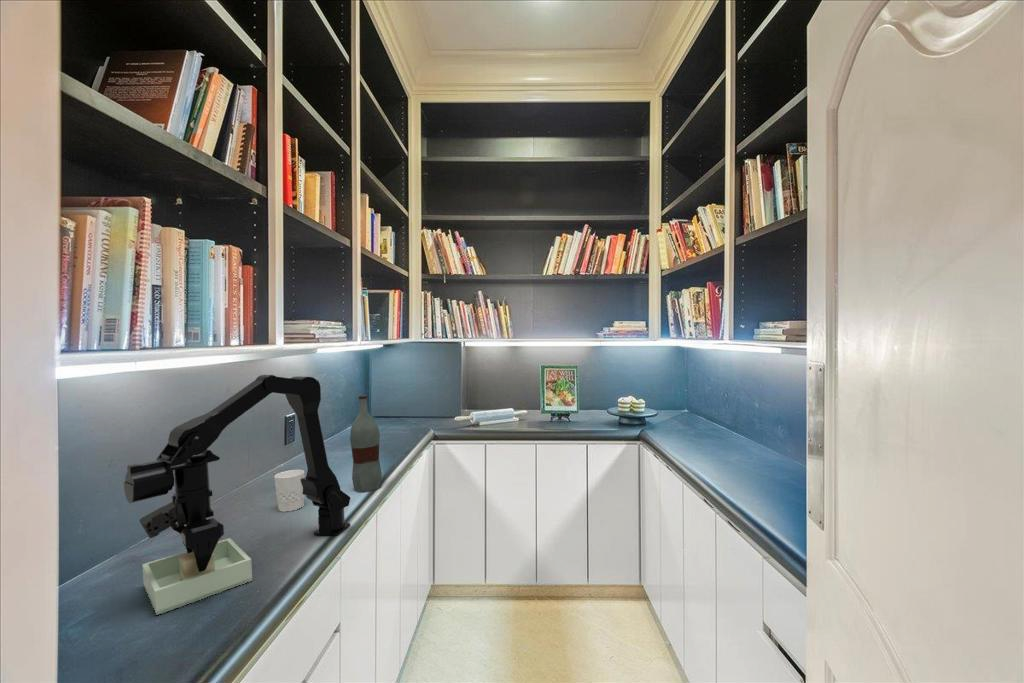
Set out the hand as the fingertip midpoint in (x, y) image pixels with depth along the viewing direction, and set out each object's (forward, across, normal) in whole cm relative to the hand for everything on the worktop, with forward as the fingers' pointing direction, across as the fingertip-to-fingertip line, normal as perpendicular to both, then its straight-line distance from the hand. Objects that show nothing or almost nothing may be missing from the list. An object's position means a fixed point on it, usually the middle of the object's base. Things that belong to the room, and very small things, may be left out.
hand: (197, 564), depth 95 cm
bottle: (+4, -29, +52) cm, 59 cm away
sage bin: (+4, 0, 0) cm, 4 cm away
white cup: (+4, -30, +29) cm, 42 cm away
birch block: (+3, 0, 0) cm, 3 cm away
